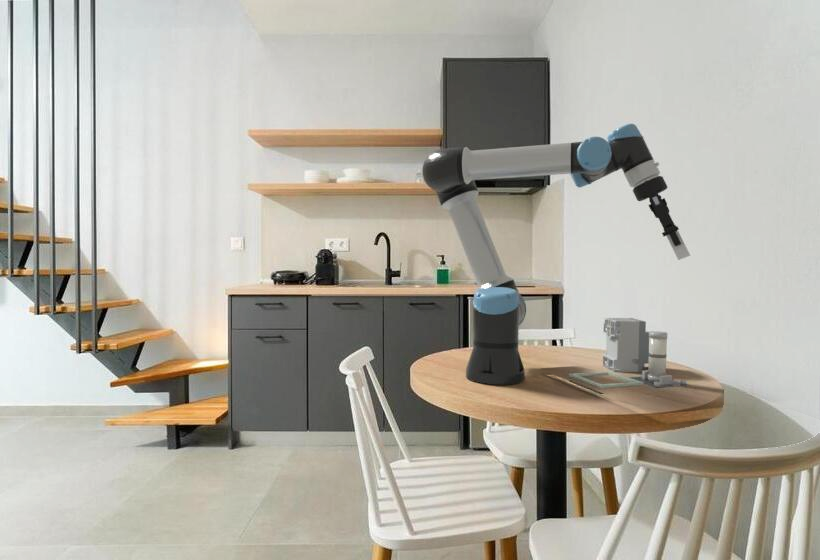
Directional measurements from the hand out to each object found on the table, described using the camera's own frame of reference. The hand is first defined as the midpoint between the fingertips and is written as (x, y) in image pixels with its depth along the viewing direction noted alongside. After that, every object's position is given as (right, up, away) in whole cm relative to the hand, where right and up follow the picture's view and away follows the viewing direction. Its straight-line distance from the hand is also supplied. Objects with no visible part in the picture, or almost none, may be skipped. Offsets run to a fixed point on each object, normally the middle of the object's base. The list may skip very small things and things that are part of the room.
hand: (683, 256), depth 119 cm
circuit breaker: (-8, -32, +10) cm, 34 cm away
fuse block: (-9, -32, -4) cm, 34 cm away
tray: (-21, -32, -3) cm, 39 cm away
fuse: (-9, -31, -4) cm, 32 cm away
